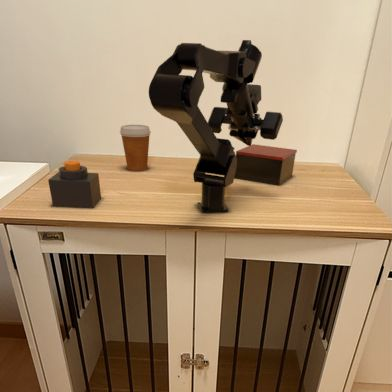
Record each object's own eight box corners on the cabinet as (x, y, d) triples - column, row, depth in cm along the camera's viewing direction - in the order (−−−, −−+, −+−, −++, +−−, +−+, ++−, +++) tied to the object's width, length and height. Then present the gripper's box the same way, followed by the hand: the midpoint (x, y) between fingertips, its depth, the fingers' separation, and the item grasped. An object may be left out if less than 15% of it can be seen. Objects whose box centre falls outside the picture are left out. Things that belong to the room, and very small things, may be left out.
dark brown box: (249, 169, 135) (251, 147, 131) (292, 176, 130) (295, 153, 126) (234, 178, 126) (235, 154, 122) (279, 185, 121) (282, 160, 117)
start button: (82, 168, 100) (81, 161, 99) (78, 172, 97) (77, 164, 96) (68, 168, 100) (66, 160, 99) (63, 171, 97) (62, 163, 96)
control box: (101, 198, 106) (97, 165, 102) (93, 208, 100) (88, 173, 95) (63, 196, 107) (57, 163, 102) (52, 206, 100) (46, 171, 96)
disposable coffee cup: (157, 170, 131) (156, 128, 124) (130, 173, 127) (127, 130, 120) (143, 163, 138) (141, 123, 130) (117, 167, 133) (114, 125, 126)
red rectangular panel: (252, 146, 132) (252, 144, 131) (296, 152, 126) (297, 149, 126) (235, 154, 122) (236, 151, 121) (282, 160, 117) (283, 157, 116)
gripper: (286, 73, 95) (292, 121, 110) (214, 69, 102) (228, 115, 116) (271, 116, 94) (278, 158, 109) (199, 109, 101) (215, 150, 115)
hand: (249, 144), depth 112 cm, fingers closed
